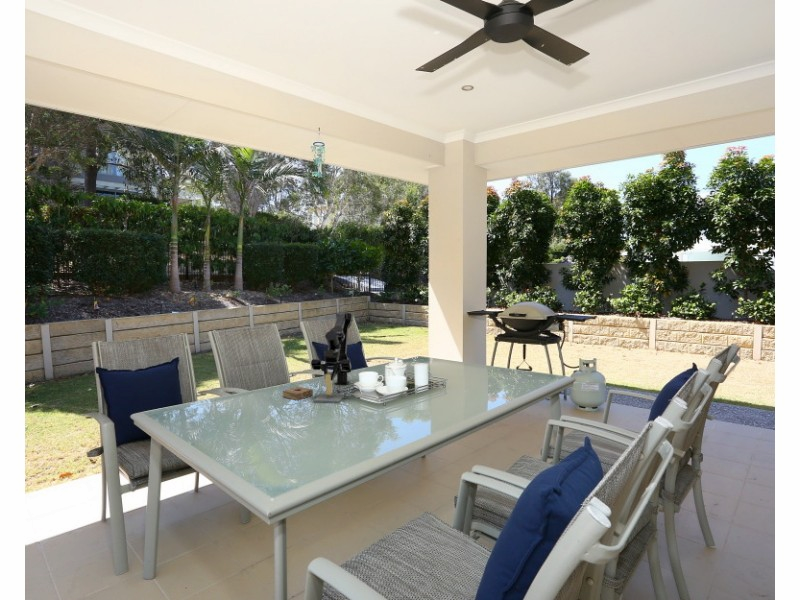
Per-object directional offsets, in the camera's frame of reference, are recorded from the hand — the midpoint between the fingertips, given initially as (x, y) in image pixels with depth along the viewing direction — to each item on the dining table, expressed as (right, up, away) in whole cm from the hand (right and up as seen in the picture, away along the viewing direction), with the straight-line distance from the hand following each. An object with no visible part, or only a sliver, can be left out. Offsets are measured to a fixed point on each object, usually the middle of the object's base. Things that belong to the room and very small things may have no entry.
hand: (328, 380), depth 216 cm
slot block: (-16, -9, +7) cm, 19 cm away
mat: (0, -9, +2) cm, 10 cm away
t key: (0, -7, +2) cm, 7 cm away
